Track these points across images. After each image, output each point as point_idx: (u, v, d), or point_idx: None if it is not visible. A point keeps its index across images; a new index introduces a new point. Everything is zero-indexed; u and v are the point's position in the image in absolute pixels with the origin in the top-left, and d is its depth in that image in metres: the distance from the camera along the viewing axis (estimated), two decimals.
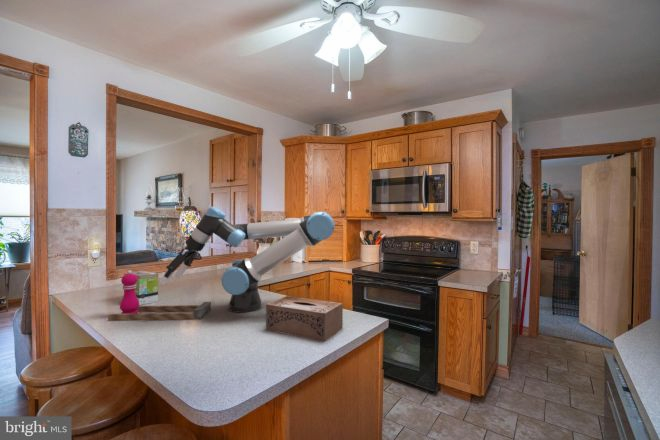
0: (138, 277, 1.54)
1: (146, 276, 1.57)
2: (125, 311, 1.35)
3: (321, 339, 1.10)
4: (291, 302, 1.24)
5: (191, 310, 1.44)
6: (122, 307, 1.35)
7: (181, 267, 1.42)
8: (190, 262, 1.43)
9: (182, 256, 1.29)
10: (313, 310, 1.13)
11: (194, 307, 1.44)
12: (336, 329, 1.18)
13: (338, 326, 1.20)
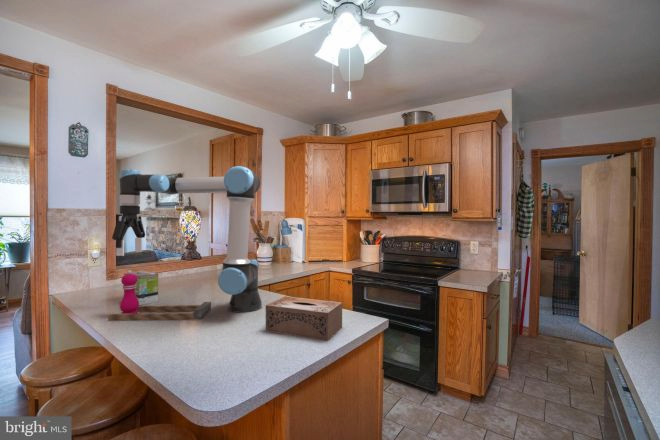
0: (138, 277, 1.54)
1: (146, 276, 1.57)
2: (125, 311, 1.35)
3: (324, 338, 1.11)
4: (291, 302, 1.23)
5: (191, 310, 1.44)
6: (122, 307, 1.35)
7: (136, 241, 1.44)
8: (141, 233, 1.45)
9: (121, 222, 1.31)
10: (315, 310, 1.13)
11: (194, 307, 1.44)
12: (337, 328, 1.19)
13: (339, 325, 1.21)
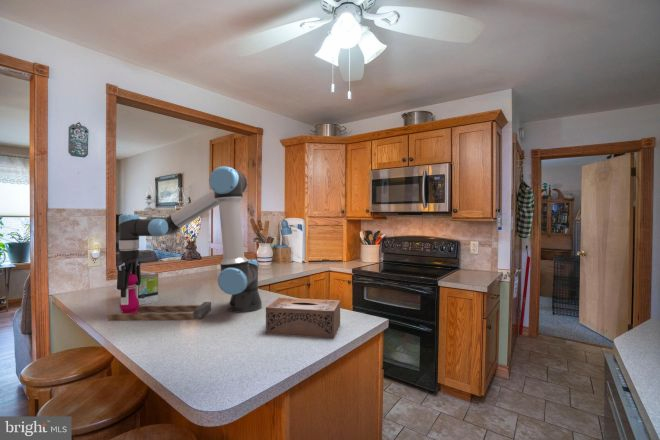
0: None
1: (146, 276, 1.57)
2: (125, 311, 1.35)
3: (330, 336, 1.13)
4: (290, 303, 1.22)
5: (191, 310, 1.44)
6: (122, 307, 1.35)
7: None
8: (138, 280, 1.43)
9: (122, 272, 1.32)
10: (320, 309, 1.14)
11: (194, 307, 1.44)
12: (338, 326, 1.21)
13: (338, 323, 1.23)
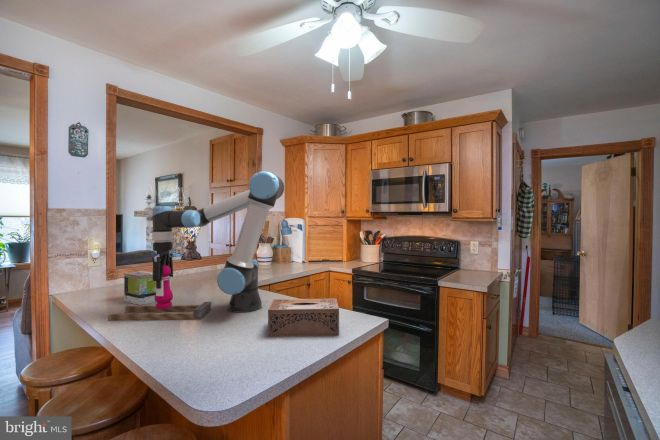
0: (138, 277, 1.54)
1: (146, 276, 1.57)
2: (160, 302, 1.36)
3: (335, 334, 1.15)
4: (289, 304, 1.21)
5: (191, 310, 1.44)
6: (157, 298, 1.35)
7: None
8: None
9: (157, 263, 1.32)
10: (324, 308, 1.16)
11: (194, 307, 1.44)
12: None
13: None
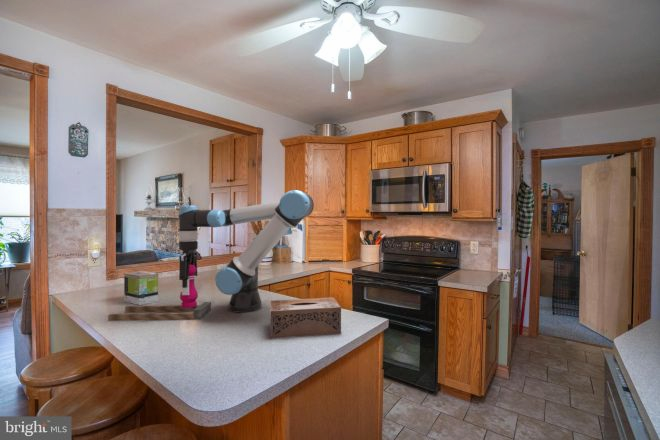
0: (138, 277, 1.54)
1: (146, 276, 1.57)
2: (186, 301, 1.36)
3: (337, 332, 1.17)
4: (290, 305, 1.20)
5: (191, 310, 1.44)
6: (183, 297, 1.36)
7: None
8: None
9: (184, 262, 1.33)
10: (326, 307, 1.17)
11: (194, 307, 1.44)
12: None
13: None
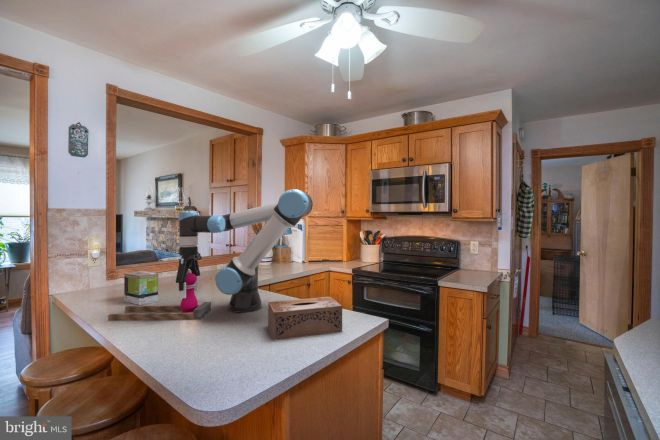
0: (138, 277, 1.54)
1: (146, 276, 1.57)
2: (186, 310, 1.36)
3: (338, 330, 1.19)
4: (290, 305, 1.19)
5: None
6: (183, 306, 1.36)
7: None
8: (197, 271, 1.47)
9: (183, 265, 1.32)
10: (328, 306, 1.19)
11: None
12: None
13: None
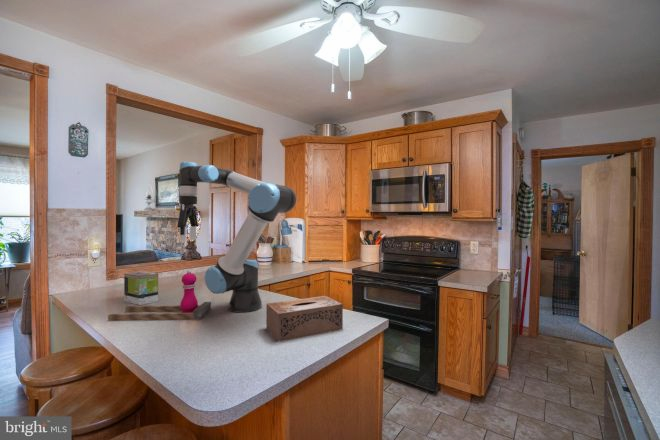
0: (138, 277, 1.54)
1: (146, 276, 1.57)
2: (186, 310, 1.36)
3: (339, 328, 1.21)
4: (291, 306, 1.19)
5: None
6: (183, 306, 1.36)
7: (191, 230, 1.54)
8: (196, 222, 1.55)
9: (184, 211, 1.41)
10: (329, 305, 1.20)
11: None
12: None
13: None
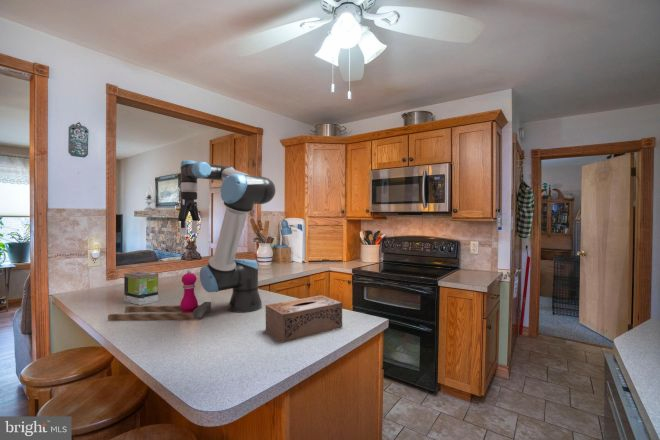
0: (138, 277, 1.54)
1: (146, 276, 1.57)
2: (186, 310, 1.36)
3: (339, 327, 1.23)
4: (292, 306, 1.18)
5: None
6: (183, 306, 1.36)
7: (193, 224, 1.65)
8: (197, 216, 1.66)
9: (184, 206, 1.51)
10: (329, 304, 1.21)
11: None
12: None
13: None
